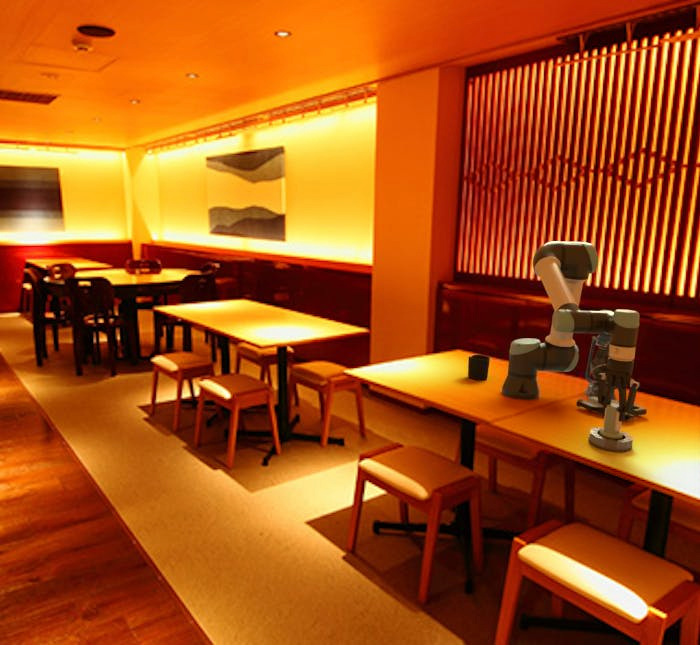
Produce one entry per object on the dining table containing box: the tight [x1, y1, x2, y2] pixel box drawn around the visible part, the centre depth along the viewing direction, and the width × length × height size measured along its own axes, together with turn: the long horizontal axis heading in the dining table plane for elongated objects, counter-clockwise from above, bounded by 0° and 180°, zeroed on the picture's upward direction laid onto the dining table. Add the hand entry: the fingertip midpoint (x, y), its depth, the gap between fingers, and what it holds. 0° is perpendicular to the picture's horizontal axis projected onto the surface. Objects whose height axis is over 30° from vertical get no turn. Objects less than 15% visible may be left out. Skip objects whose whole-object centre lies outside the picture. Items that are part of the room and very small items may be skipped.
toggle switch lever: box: [599, 403, 623, 439], centre depth 182 cm, size 7×7×10 cm
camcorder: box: [576, 396, 648, 422], centre depth 214 cm, size 16×20×5 cm
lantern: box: [584, 334, 618, 400], centre depth 234 cm, size 15×12×30 cm
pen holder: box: [467, 354, 491, 382], centre depth 255 cm, size 9×9×10 cm
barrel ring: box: [588, 427, 634, 453], centre depth 183 cm, size 13×13×3 cm
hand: (611, 428), depth 182 cm, fingers closed on toggle switch lever, 3 cm apart
